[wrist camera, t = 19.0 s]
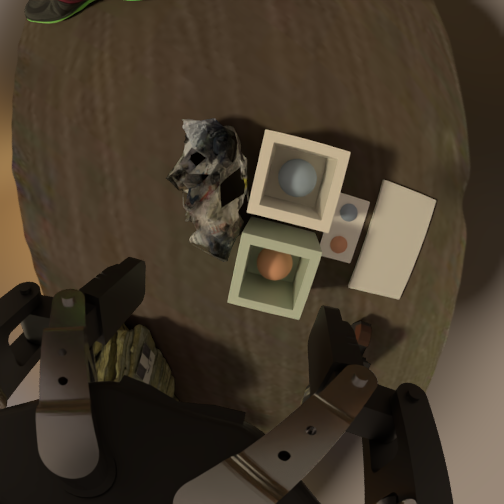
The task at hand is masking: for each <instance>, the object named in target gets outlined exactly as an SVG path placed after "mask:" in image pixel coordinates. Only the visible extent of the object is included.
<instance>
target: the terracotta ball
mask: <svg viewBox="0 0 504 504" xmlns="http://www.w3.org/2000/svg"><path fill="white" fill-rule="evenodd" d="M292 265H293V260H292V256H291V255H290V254H286V253H282V252H278V251H274V250H270V249H266V248H264V249H262V250H261V252H260V253H259V255H258V258H257V268H258V270H259V272H260V274H261V275H262V276H263V277H265V278H266V279H269V280H274V281H276V280H281V279H283V278H285V277H286V276H287V275H288V274H289V273H290V271H291V269H292Z"/></svg>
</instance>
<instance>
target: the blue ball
mask: <svg viewBox="0 0 504 504" xmlns="http://www.w3.org/2000/svg"><path fill="white" fill-rule="evenodd" d="M278 182H279V185H280V187H281V189H282V190H283V191H284V192H285V193H286V194H288V195H290V196H293V197H303V196H306V195H308V194H309V193H310V192H312V190H313V189H314V187H315V185H316V182H317V175H316V171H315V169H314V168H313V166H312V165H311V164H310V163H309V162H307V161H305V160H302V159H292V160H289V161H287V162H286V163H284V164H283V165H282V167H281V168H280V170H279V173H278Z"/></svg>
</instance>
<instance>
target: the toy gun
mask: <svg viewBox="0 0 504 504" xmlns="http://www.w3.org/2000/svg"><path fill="white" fill-rule="evenodd" d="M351 327H352V328H353V329H354V332H355V335H356V339H357V342H358V346H359V349H360V353H361V356H362V355H363V353H364V351H365V349H366V348H367V347H368V345H369V342H370V338H371V333H372V327H371V324H368V323H365V322H362V321H360V322H356V323H353V324H352V325H351ZM362 360H363V364H364V367H366V368H368V369H369V367H370V363H368V362H367V361H366V358H364V357H362ZM309 397H310V385H309V386H307V388H306V390H305V393H304V398H302V402H301V405H302V404H303V403H304V402H305V401H306V400H307V399H308V398H309Z"/></svg>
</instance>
